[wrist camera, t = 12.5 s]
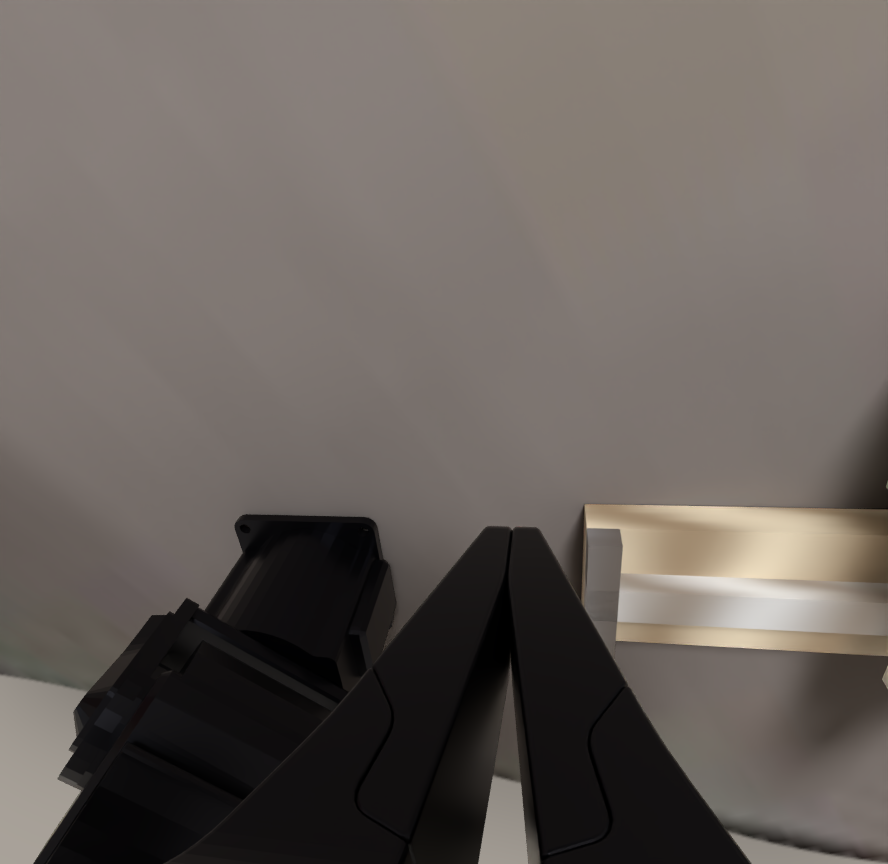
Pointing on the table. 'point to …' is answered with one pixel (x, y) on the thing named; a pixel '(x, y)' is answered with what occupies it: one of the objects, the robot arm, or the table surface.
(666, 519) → the rail
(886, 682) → the carriage
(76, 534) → the table surface
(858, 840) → the table surface
